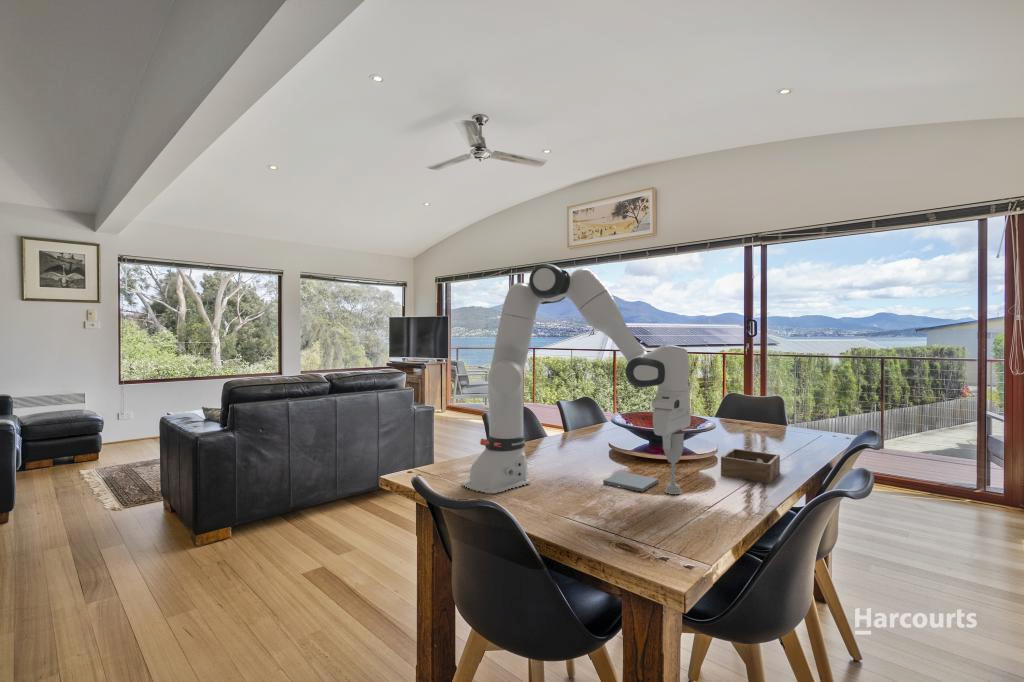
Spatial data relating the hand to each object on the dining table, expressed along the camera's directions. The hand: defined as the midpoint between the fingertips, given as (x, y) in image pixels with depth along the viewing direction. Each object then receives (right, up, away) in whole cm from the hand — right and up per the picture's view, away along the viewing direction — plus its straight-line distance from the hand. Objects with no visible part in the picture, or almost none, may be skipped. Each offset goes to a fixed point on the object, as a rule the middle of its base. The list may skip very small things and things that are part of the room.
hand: (673, 446), depth 144 cm
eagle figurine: (+32, -14, +16) cm, 38 cm away
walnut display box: (+32, -13, +18) cm, 39 cm away
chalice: (0, -14, 0) cm, 14 cm away
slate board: (-10, -14, +9) cm, 19 cm away
